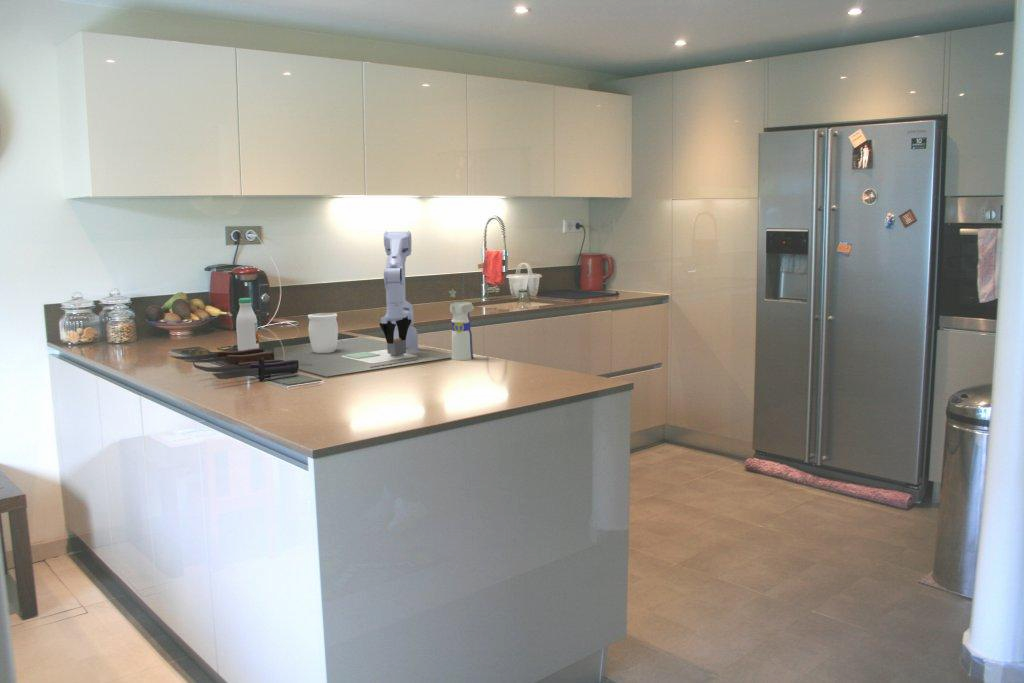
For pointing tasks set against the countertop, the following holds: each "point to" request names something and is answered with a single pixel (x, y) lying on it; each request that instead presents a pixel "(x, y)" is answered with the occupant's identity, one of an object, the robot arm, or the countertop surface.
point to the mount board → (384, 357)
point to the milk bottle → (246, 326)
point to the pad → (361, 355)
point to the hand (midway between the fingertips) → (396, 341)
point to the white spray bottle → (461, 330)
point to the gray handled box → (397, 347)
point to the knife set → (244, 363)
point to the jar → (323, 332)
